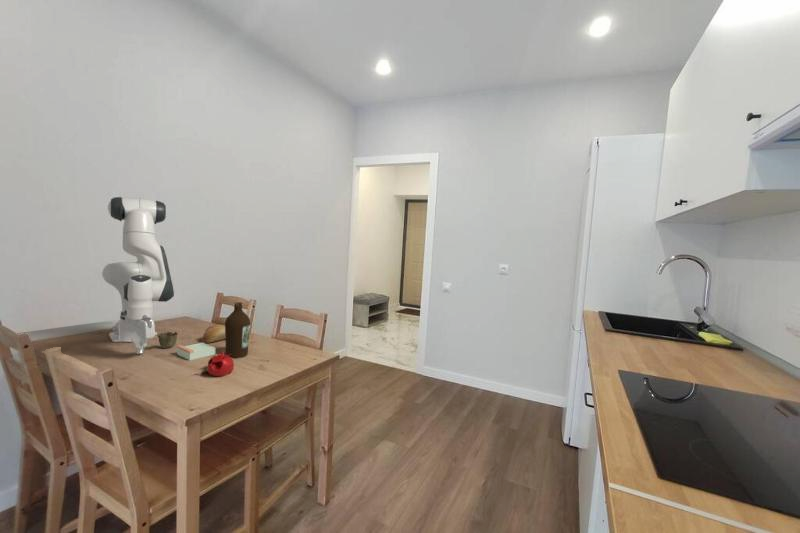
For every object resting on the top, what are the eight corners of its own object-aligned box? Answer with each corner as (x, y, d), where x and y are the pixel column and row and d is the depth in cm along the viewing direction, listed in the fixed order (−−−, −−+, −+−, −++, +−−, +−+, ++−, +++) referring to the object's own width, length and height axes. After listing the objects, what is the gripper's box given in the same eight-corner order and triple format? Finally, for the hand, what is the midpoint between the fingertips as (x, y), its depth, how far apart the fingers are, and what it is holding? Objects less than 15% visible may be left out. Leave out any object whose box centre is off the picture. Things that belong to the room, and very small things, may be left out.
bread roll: (197, 342, 172) (197, 327, 171) (223, 335, 186) (223, 321, 185) (210, 345, 168) (210, 330, 167) (235, 338, 182) (236, 324, 181)
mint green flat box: (177, 354, 150) (177, 345, 150) (202, 348, 159) (202, 340, 159) (189, 360, 144) (190, 351, 144) (215, 354, 154) (215, 345, 153)
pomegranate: (224, 367, 144) (225, 345, 143) (239, 372, 139) (239, 350, 138) (201, 373, 135) (201, 351, 135) (215, 380, 130) (216, 356, 130)
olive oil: (219, 358, 153) (221, 304, 151) (230, 350, 163) (232, 299, 161) (243, 359, 153) (245, 305, 151) (252, 351, 164) (254, 301, 162)
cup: (181, 348, 162) (181, 332, 161) (169, 353, 154) (169, 336, 154) (166, 346, 162) (166, 330, 162) (154, 351, 155) (154, 334, 154)
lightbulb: (128, 357, 142) (128, 331, 141) (132, 351, 148) (132, 327, 147) (147, 355, 145) (147, 330, 144) (150, 350, 151) (150, 326, 150)
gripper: (159, 316, 142) (159, 348, 144) (139, 307, 153) (138, 337, 154) (142, 319, 137) (141, 352, 138) (121, 309, 148) (121, 340, 149)
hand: (140, 344), depth 146 cm, fingers closed on lightbulb, 5 cm apart
